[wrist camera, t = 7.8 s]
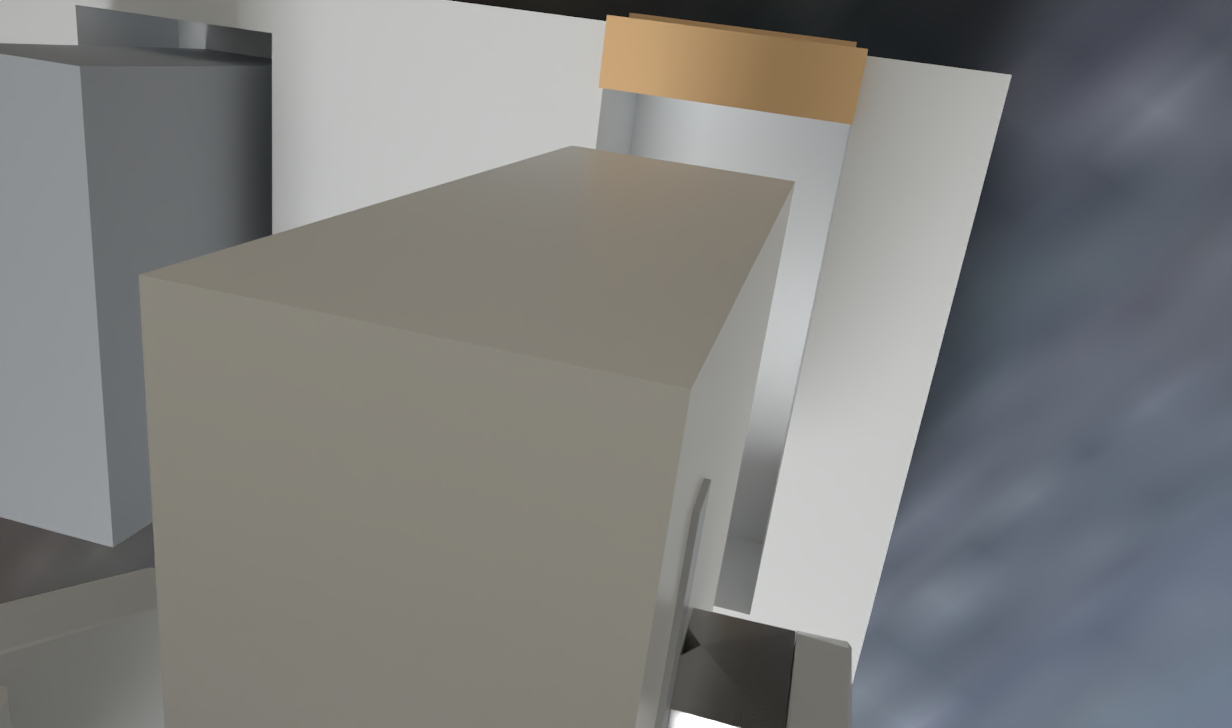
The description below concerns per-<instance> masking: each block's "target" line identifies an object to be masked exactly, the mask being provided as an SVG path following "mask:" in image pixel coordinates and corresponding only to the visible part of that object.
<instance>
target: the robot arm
mask: <svg viewBox="0 0 1232 728" xmlns="http://www.w3.org/2000/svg"><path fill="white" fill-rule="evenodd" d="M0 728H164V710H163V693H162V676H161V658H160V641H159V623H158V606H157V588H156V571H155V568H151V567H150V568H145V569H141V570H137V571H133V572H129V573H125V574H121V575H117V576H113V577H109V578H105V579H101V580H97V581H92V582H88V583H84V584H80V585H76V586H72V587H68V588H64V589H60V590H56V591H52V592H48V593H43V594H39V595H35V596H31V597H27V598H23V599H19V600H15V601H11V602H7V603H3V604H0ZM667 728H852V648H851V646H850V644H849V643H848V641H843V640H838V639H834V638H829V637H824V636H820V635H815V634H810V633H806V632H801V631H796V632H795V631H793V630H789V629H785V628H780V627H776V626H772V625H767V624H763V623H759V622H754V621H750V620H746V619H741V618H737V617H733V616H728V615H724V614H720V613H715V612H711V611H707V610H702V609H698V608H693V611H692V615H691V618H690V621H689V625H688V629H687V634H686V640H685V645H684V651H683V655H681V656H679V662H678V667H677V673H676V678H675V684H674V689H673V695H672V700H671V706H670V711H669V717H668V722H667Z"/></svg>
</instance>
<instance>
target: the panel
mask: <svg viewBox="0 0 1232 728" xmlns="http://www.w3.org/2000/svg"><path fill="white" fill-rule="evenodd" d="M794 185H795V181H790V180H784V179H778V178H772V177H765V176H759V175H753V174H747V173H740V172H734V171H728V170H722V169H716V168H709V167H703V166H697V165H691V164H684V163H678V162H672V161H666V160H659V159H653V158H647V157H641V156H634V155H628V154H622V153H616V152H609V151H603V150H597V149H591V148H585V147H578V146H572V145H571V146H568V147H564V148H561V149H558V150H554V151H551V152H548V153H544V154H541V155H538V156H534V157H531V158H528V159H524V160H521V161H518V162H514V163H511V164H507V165H504V166H501V167H497V168H494V169H491V170H487V171H484V172H481V173H477V174H474V175H471V176H467V177H464V178H461V179H457V180H454V181H451V182H447V183H444V184H441V185H437V186H434V187H430V188H427V189H424V190H420V191H417V192H414V193H410V194H407V195H404V196H400V197H397V198H394V199H390V200H387V201H384V202H380V203H377V204H374V205H370V206H367V207H364V208H360V209H357V210H353V211H350V212H347V213H343V214H340V215H337V216H333V217H330V218H327V219H323V220H320V221H317V222H313V223H310V224H307V225H303V226H300V227H297V228H293V229H290V230H287V231H283V232H280V233H276V234H273V235H270V236H266V237H263V238H260V239H256V240H253V241H250V242H246V243H243V244H240V245H236V246H233V247H230V248H226V249H223V250H220V251H216V252H213V253H210V254H206V255H203V256H199V257H196V258H193V259H189V260H186V261H183V262H179V263H176V264H173V265H169V266H166V267H163V268H159V269H156V270H153V271H149V272H146V273H143V274H139V292H140V309H141V327H142V344H143V362H144V379H145V397H146V414H147V431H148V449H149V466H150V484H151V501H152V519H153V536H154V553H155V571H156V588H157V606H158V623H159V641H160V658H161V676H162V693H163V710H164V728H667V722H668V717H669V711H670V706H671V700H672V695H673V689H674V684H675V678H676V673H677V667H678V662H679V656H681V655H683V651H684V645H685V640H686V634H687V629H688V625H689V621H690V618H691V615H692V611H693V608H698V609H702V610H707V611H711V612H713V606H714V601H715V596H716V591H717V586H718V580H719V575H720V570H721V565H722V560H723V554H724V549H725V544H726V539H727V534H728V528H729V523H730V518H731V513H732V508H733V502H734V497H735V492H736V487H737V482H738V476H739V471H740V466H741V461H742V455H743V450H744V445H745V440H746V435H747V429H748V424H749V419H750V414H751V409H752V403H753V398H754V393H755V388H756V383H757V377H758V372H759V367H760V362H761V357H762V351H763V346H764V341H765V336H766V331H767V325H768V320H769V315H770V310H771V305H772V299H773V294H774V289H775V284H776V279H777V273H778V268H779V263H780V258H781V253H782V247H783V242H784V237H785V232H786V226H787V221H788V216H789V211H790V206H791V200H792V195H793V190H794Z"/></svg>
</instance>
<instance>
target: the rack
mask: <svg viewBox="0 0 1232 728" xmlns="http://www.w3.org/2000/svg"><path fill="white" fill-rule="evenodd" d="M856 44H857V42H852V41H844V40H836V39H829V38H821V37H813V36H806V35H798V34H790V33H783V32H775V31H767V30H760V29H752V28H744V27H736V26H729V25H721V24H713V23H706V22H698V21H690V20H683V19H675V18H667V17H660V16H652V15H644V14H636V13H629V18H628V17H620V16H612V15H607V19H606V21H601V20H593V19H586V18H578V17H571V16H563V15H555V14H548V13H540V12H533V11H525V10H518V9H510V8H503V7H495V6H488V5H480V4H472V3H465V2H457V1H450V0H0V517H2V518H6V519H10V520H13V521H17V522H21V523H25V524H28V525H32V526H36V527H39V528H43V529H47V530H50V531H54V532H58V533H61V534H65V535H69V536H73V537H76V538H80V539H84V540H87V541H91V542H95V543H98V544H102V545H106V546H109V547H115V546H116V545H118V544H119V543H121V542H122V541H124V540H126V539H127V538H129V537H130V536H132V535H133V534H135V533H136V532H138V531H139V530H141V529H142V528H144V527H145V526H147V525H149V524H150V523H152V522H153V519H152V501H151V484H150V466H149V449H148V431H147V414H146V397H145V379H144V362H143V344H142V327H141V309H140V292H139V274H143V273H146V272H149V271H153V270H156V269H159V268H163V267H166V266H169V265H173V264H176V263H179V262H183V261H186V260H189V259H193V258H196V257H199V256H203V255H206V254H210V253H213V252H216V251H220V250H223V249H226V248H230V247H233V246H236V245H240V244H243V243H246V242H250V241H253V240H256V239H260V238H263V237H266V236H270V235H273V234H276V233H280V232H283V231H287V230H290V229H293V228H297V227H300V226H303V225H307V224H310V223H313V222H317V221H320V220H323V219H327V218H330V217H333V216H337V215H340V214H343V213H347V212H350V211H353V210H357V209H360V208H364V207H367V206H370V205H374V204H377V203H380V202H384V201H387V200H390V199H394V198H397V197H400V196H404V195H407V194H410V193H414V192H417V191H420V190H424V189H427V188H430V187H434V186H437V185H441V184H444V183H447V182H451V181H454V180H457V179H461V178H464V177H467V176H471V175H474V174H477V173H481V172H484V171H487V170H491V169H494V168H497V167H501V166H504V165H507V164H511V163H514V162H518V161H521V160H524V159H528V158H531V157H534V156H538V155H541V154H544V153H548V152H551V151H554V150H558V149H561V148H564V147H568V146H571V145H572V146H578V147H585V148H591V149H597V150H603V151H609V152H616V153H622V154H628V155H634V156H641V157H647V158H653V159H659V160H666V161H672V162H678V163H684V164H691V165H697V166H703V167H709V168H716V169H722V170H728V171H734V172H740V173H747V174H753V175H759V176H765V177H772V178H778V179H784V180H790V181H795V185H794V190H793V195H792V200H791V206H790V211H789V216H788V221H787V226H786V232H785V237H784V242H783V247H782V253H781V258H780V263H779V268H778V273H777V279H776V284H775V289H774V294H773V299H772V305H771V310H770V315H769V320H768V325H767V331H766V336H765V341H764V346H763V351H762V357H761V362H760V367H759V372H758V377H757V383H756V388H755V393H754V398H753V403H752V409H751V414H750V419H749V424H748V429H747V435H746V440H745V445H744V450H743V455H742V461H741V466H740V471H739V476H738V482H737V487H736V492H735V497H734V502H733V508H732V513H731V518H730V523H729V528H728V534H727V539H726V544H725V549H724V554H723V560H722V565H721V570H720V575H719V580H718V586H717V591H716V596H715V601H714V606H713V612H715V613H720V614H724V615H728V616H733V617H737V618H741V619H746V620H750V621H754V622H759V623H763V624H767V625H772V626H776V627H780V628H785V629H789V630H793V631H795V632H796V631H801V632H806V633H810V634H815V635H820V636H824V637H829V638H834V639H838V640H843V641H848V643H849V644H850V646H851V648H852V683H853V679H854V675H855V671H856V667H857V664H858V660H859V656H860V652H861V648H862V645H863V641H864V637H865V633H866V629H867V625H868V622H869V618H870V614H871V610H872V606H873V603H874V599H875V595H876V591H877V587H878V584H879V580H880V576H881V572H882V568H883V564H884V561H885V557H886V553H887V549H888V545H889V542H890V538H891V534H892V530H893V526H894V522H895V519H896V515H897V511H898V507H899V503H900V500H901V496H902V492H903V488H904V484H905V480H906V477H907V473H908V469H909V465H910V461H911V458H912V454H913V450H914V446H915V442H916V439H917V435H918V431H919V427H920V423H921V419H922V416H923V412H924V408H925V404H926V400H927V397H928V393H929V389H930V385H931V381H932V377H933V374H934V370H935V366H936V362H937V358H938V355H939V351H940V347H941V343H942V339H943V335H944V332H945V328H946V324H947V320H948V316H949V313H950V309H951V305H952V301H953V297H954V294H955V290H956V286H957V282H958V278H959V274H960V271H961V267H962V263H963V259H964V255H965V252H966V248H967V244H968V240H969V236H970V232H971V229H972V225H973V221H974V217H975V213H976V210H977V206H978V202H979V198H980V194H981V191H982V187H983V183H984V179H985V175H986V171H987V168H988V164H989V160H990V156H991V152H992V149H993V145H994V141H995V137H996V133H997V129H998V126H999V122H1000V118H1001V114H1002V110H1003V107H1004V103H1005V99H1006V95H1007V91H1008V87H1009V84H1010V80H1011V76H1012V75H1008V74H1001V73H993V72H986V71H978V70H971V69H963V68H956V67H948V66H941V65H933V64H925V63H918V62H910V61H903V60H895V59H888V58H880V57H873V56H867V53H868V49H864V48H857V47H856Z"/></svg>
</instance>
